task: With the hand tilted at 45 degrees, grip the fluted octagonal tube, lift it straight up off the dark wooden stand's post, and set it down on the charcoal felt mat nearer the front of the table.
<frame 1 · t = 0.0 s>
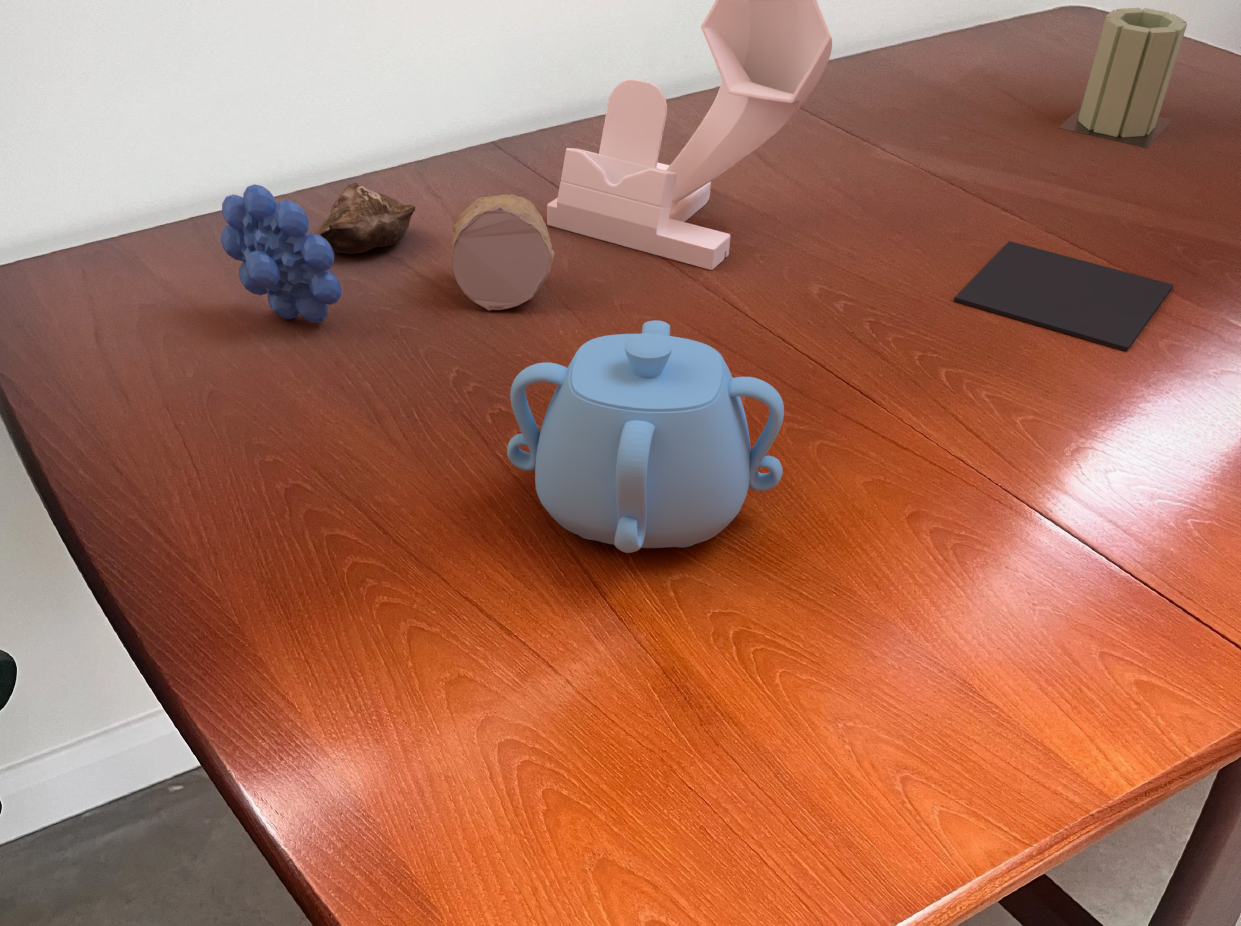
grapes: (284, 325, 115), on the table
mat: (1063, 294, 119), on the table
phone horn amplifier: (691, 226, 129), on the table
decorative pot: (641, 508, 95), on the table
stand: (1112, 136, 146), on the table
bark-rimmed wood disc: (506, 294, 119), on the table
fluted octagonal tube: (1116, 123, 145), point 1 cm above the table, touching stand
fossilized seashell: (368, 246, 126), on the table
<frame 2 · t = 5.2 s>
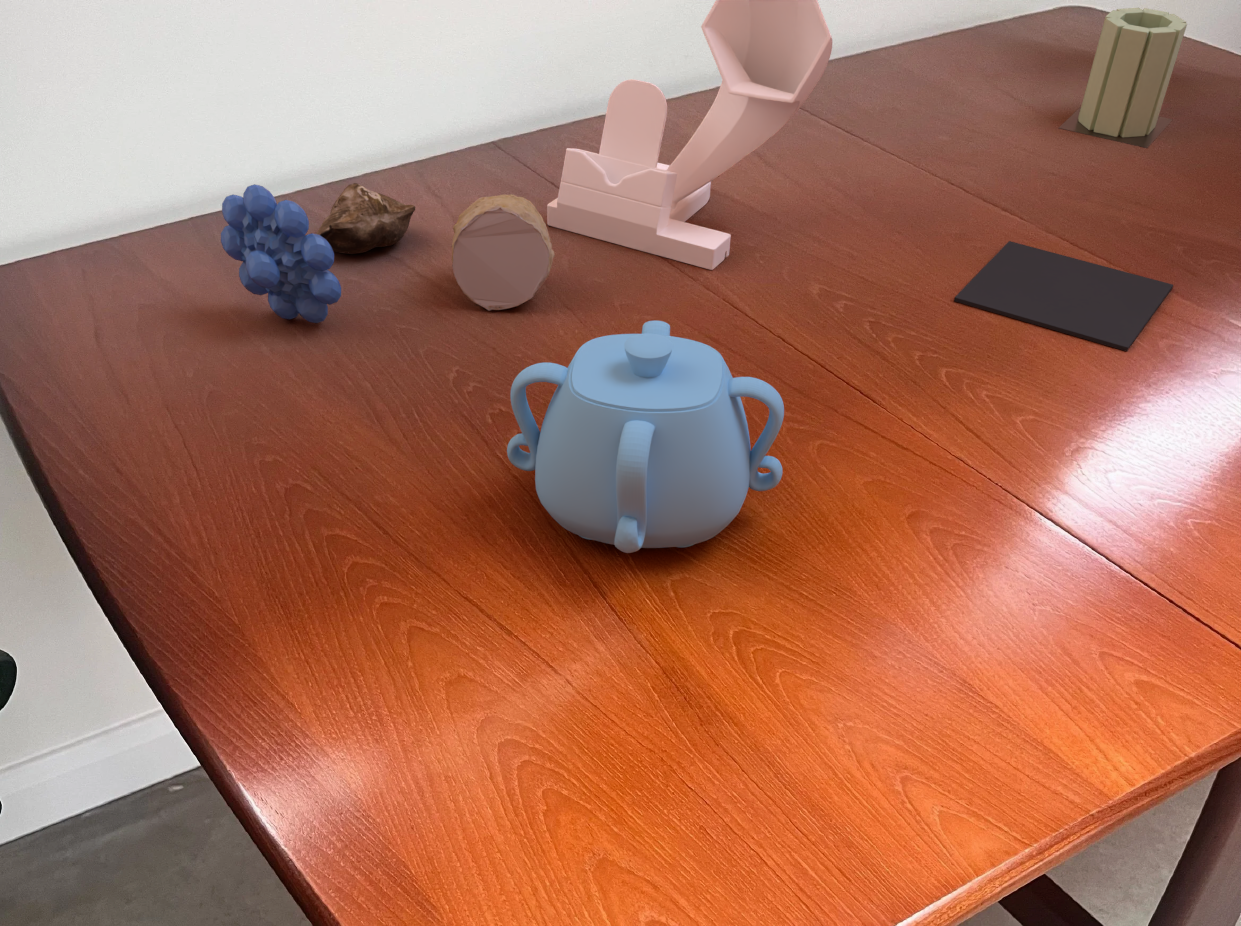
nothing on the table moved.
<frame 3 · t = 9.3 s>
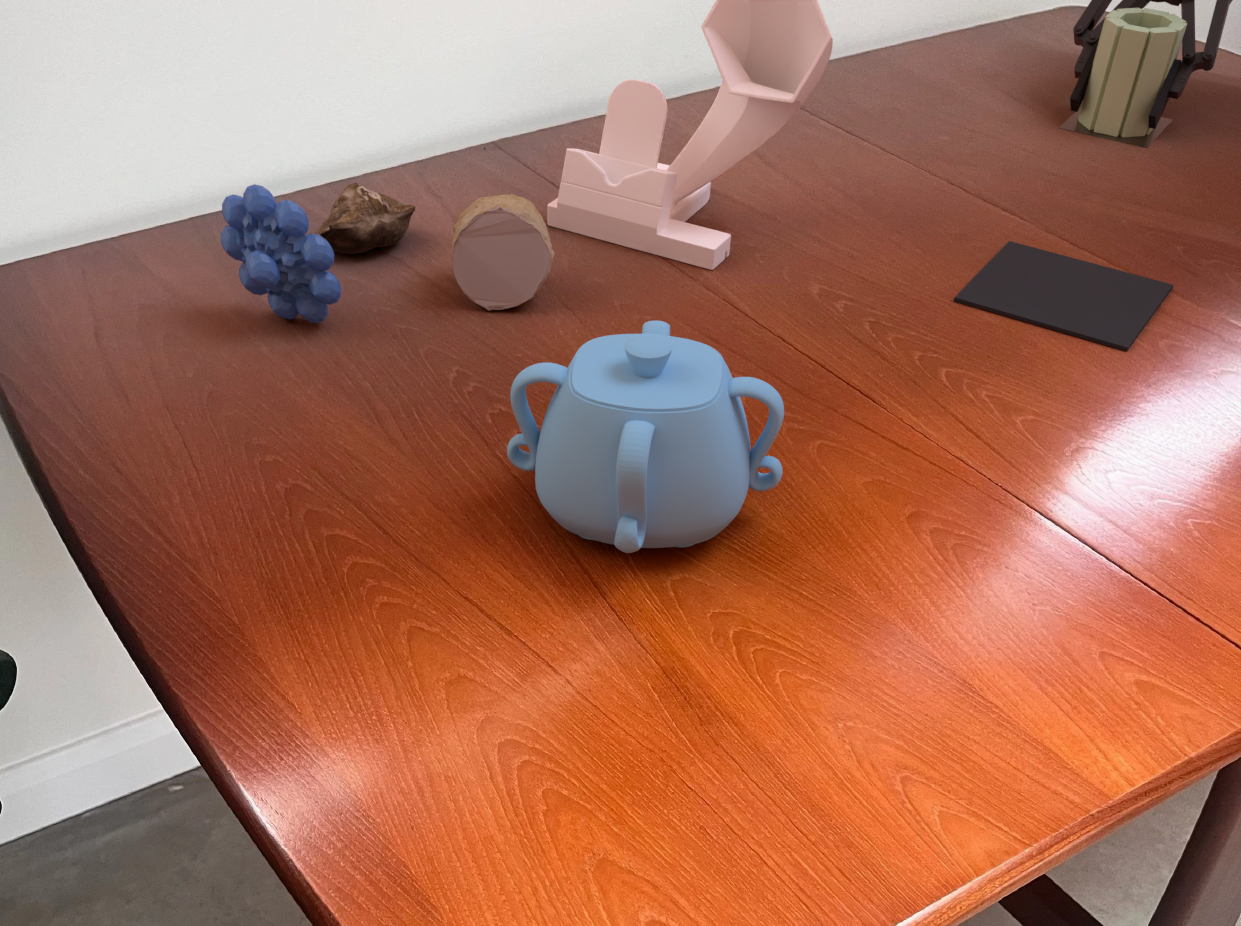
hand: (1112, 113, 142), 4 cm above the table, tool tilted 45°, fingers closed on fluted octagonal tube, 8 cm apart
fluted octagonal tube: (1116, 123, 145), point 2 cm above the table, touching gripper, stand
everything else where it was.
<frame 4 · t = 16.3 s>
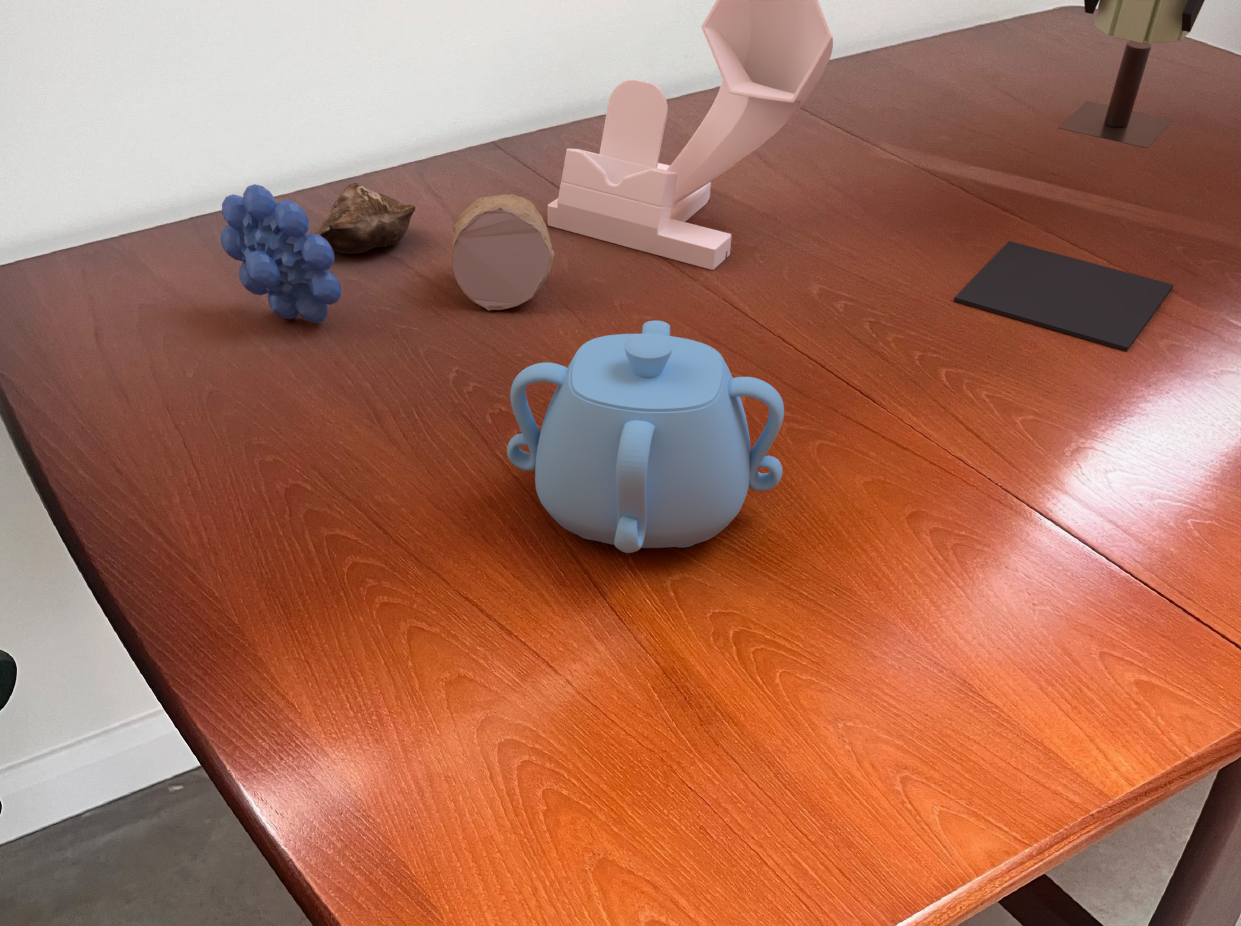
hand: (1136, 13, 114), 21 cm above the table, tool tilted 45°, fingers closed on fluted octagonal tube, 8 cm apart
fluted octagonal tube: (1140, 28, 118), point 18 cm above the table, touching gripper
everything else where it was.
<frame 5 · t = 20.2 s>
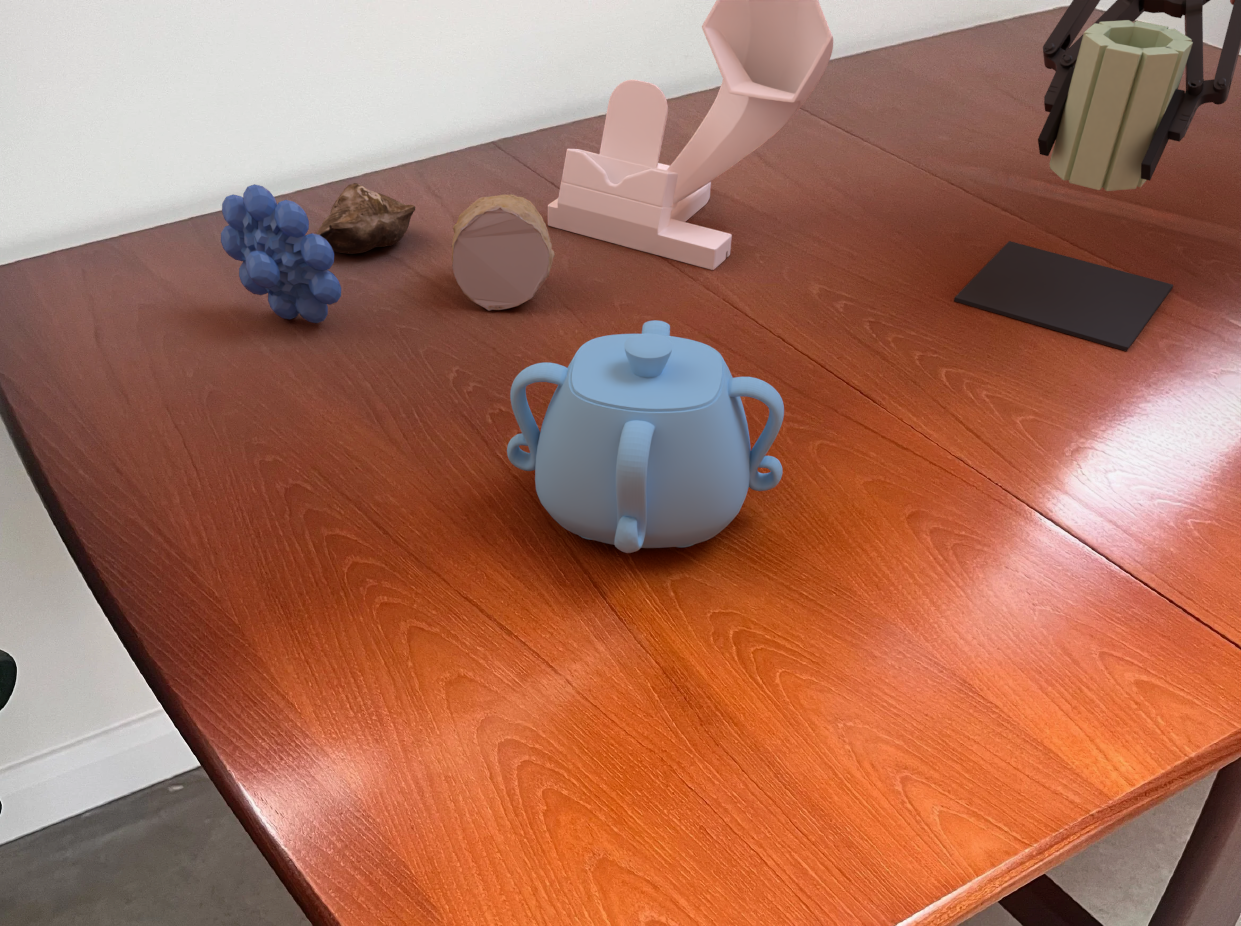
hand: (1093, 159, 107), 14 cm above the table, tool tilted 45°, fingers closed on fluted octagonal tube, 8 cm apart
fluted octagonal tube: (1099, 171, 111), point 12 cm above the table, touching gripper
everything else where it was.
when the fingers open (3 cm above the table, at t = 23.6 s): fluted octagonal tube stays where it is, resting on mat.
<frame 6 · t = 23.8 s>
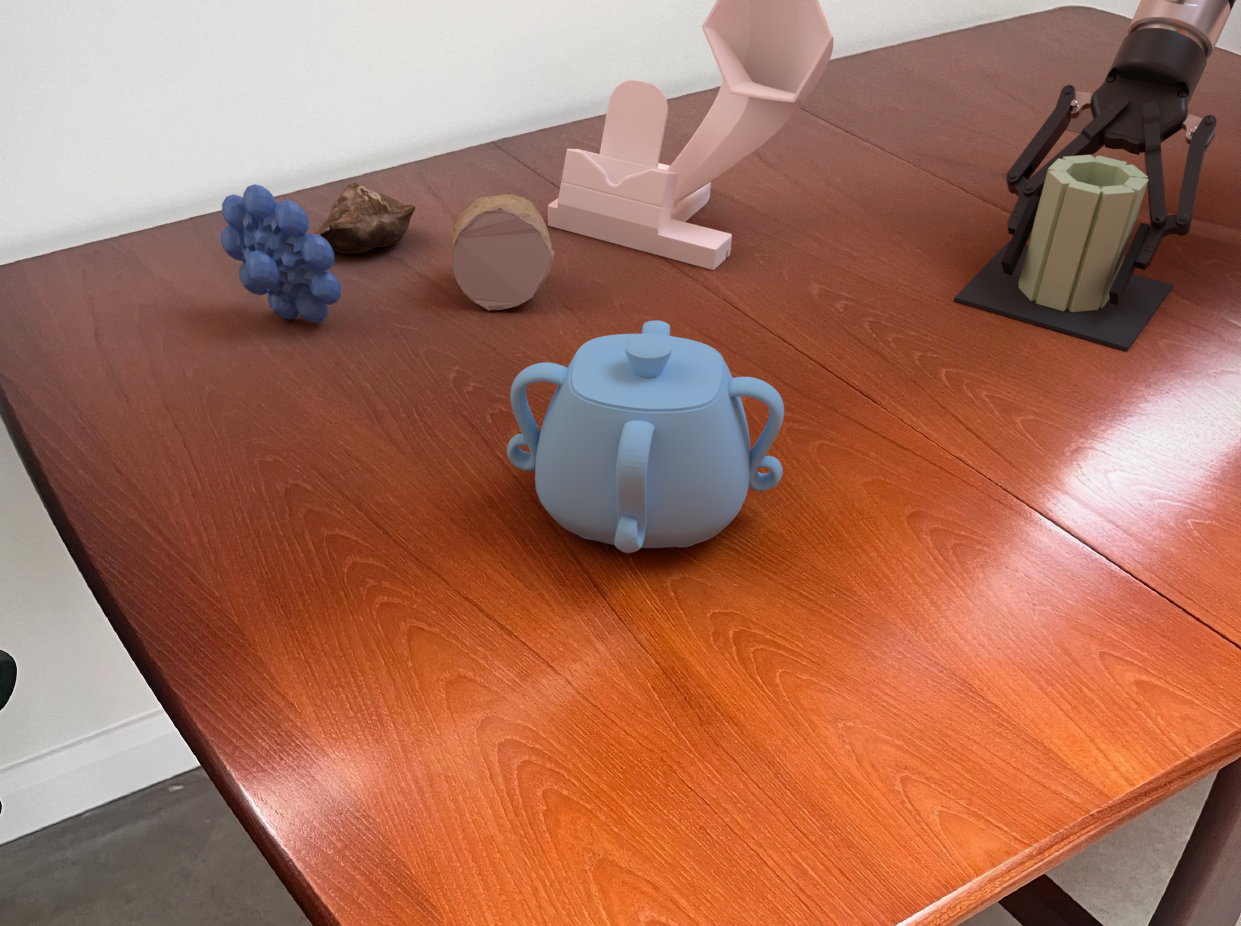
hand: (1059, 283, 115), 2 cm above the table, tool tilted 45°, fingers open, 9 cm apart
fluted octagonal tube: (1064, 290, 119), resting on mat
everything else where it was.
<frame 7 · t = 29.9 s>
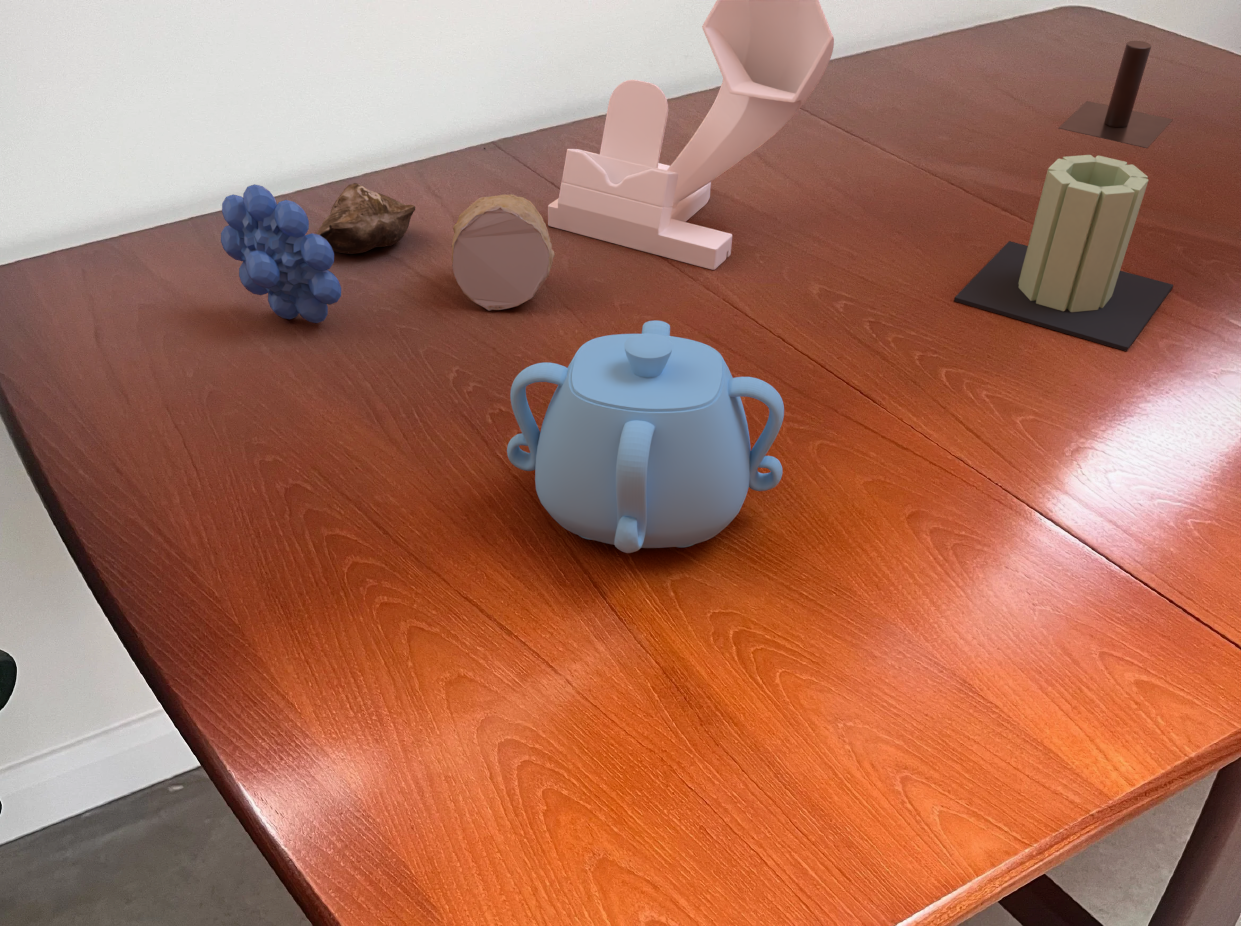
nothing on the table moved.
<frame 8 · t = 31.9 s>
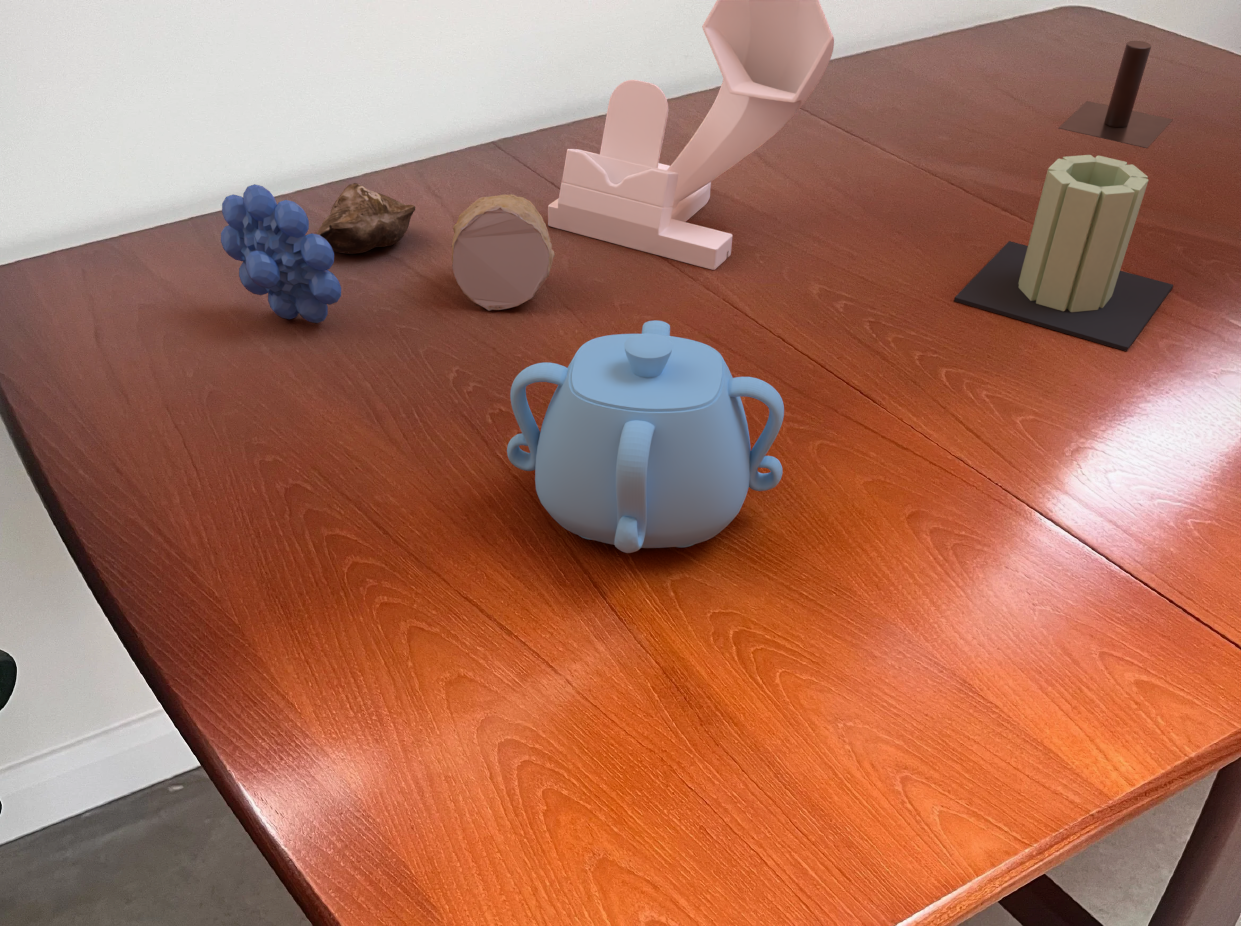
nothing on the table moved.
at the end: fluted octagonal tube inside the target area on the mat (0.1 cm from its centre), point 0.4 cm above the mat's base; fluted octagonal tube tilted 0°; the gripper is holding nothing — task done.
